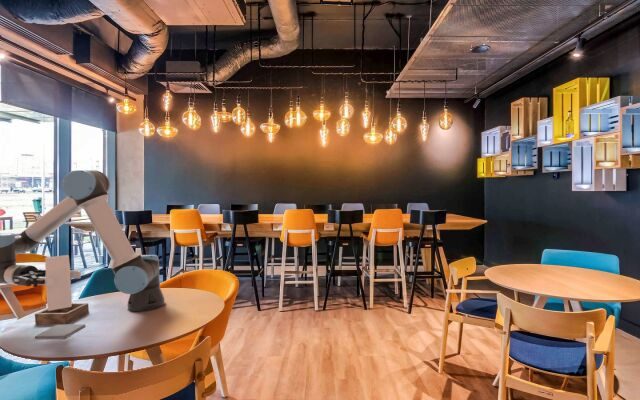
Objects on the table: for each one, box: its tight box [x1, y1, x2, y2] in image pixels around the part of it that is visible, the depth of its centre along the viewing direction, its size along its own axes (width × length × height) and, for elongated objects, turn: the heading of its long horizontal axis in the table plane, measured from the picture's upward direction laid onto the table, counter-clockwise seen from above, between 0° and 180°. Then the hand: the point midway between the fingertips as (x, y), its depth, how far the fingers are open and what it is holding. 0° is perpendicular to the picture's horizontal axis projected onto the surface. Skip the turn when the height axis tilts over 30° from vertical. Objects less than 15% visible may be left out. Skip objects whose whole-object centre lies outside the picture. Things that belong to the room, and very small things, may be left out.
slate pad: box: [34, 323, 86, 339], centre depth 138 cm, size 11×11×1 cm
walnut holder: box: [34, 302, 90, 325], centre depth 153 cm, size 13×13×4 cm
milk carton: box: [44, 254, 72, 311], centre depth 137 cm, size 7×7×19 cm
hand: (66, 278), depth 136 cm, fingers closed on milk carton, 10 cm apart
